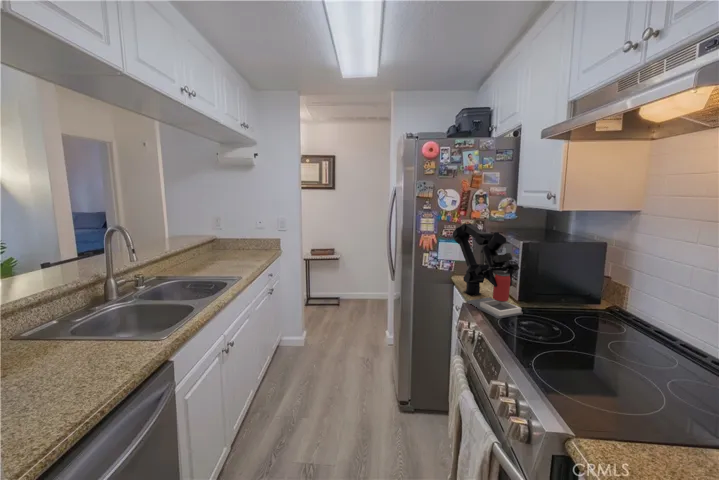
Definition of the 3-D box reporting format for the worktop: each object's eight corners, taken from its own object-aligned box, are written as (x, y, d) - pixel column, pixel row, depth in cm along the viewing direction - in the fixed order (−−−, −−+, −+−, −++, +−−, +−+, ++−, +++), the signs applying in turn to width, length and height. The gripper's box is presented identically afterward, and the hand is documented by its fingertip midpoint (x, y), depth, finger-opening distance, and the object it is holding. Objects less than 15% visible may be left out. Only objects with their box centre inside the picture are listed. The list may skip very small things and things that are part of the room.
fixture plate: (466, 302, 153) (466, 296, 153) (489, 299, 158) (489, 293, 158) (497, 318, 135) (498, 311, 134) (522, 314, 140) (523, 307, 139)
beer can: (504, 303, 137) (506, 276, 135) (489, 299, 142) (492, 273, 140) (511, 299, 142) (513, 274, 140) (496, 295, 147) (499, 270, 144)
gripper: (480, 247, 140) (492, 278, 132) (519, 246, 143) (533, 276, 134) (470, 260, 149) (480, 290, 141) (506, 259, 152) (519, 288, 143)
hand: (503, 286), depth 140 cm, fingers closed on beer can, 7 cm apart
